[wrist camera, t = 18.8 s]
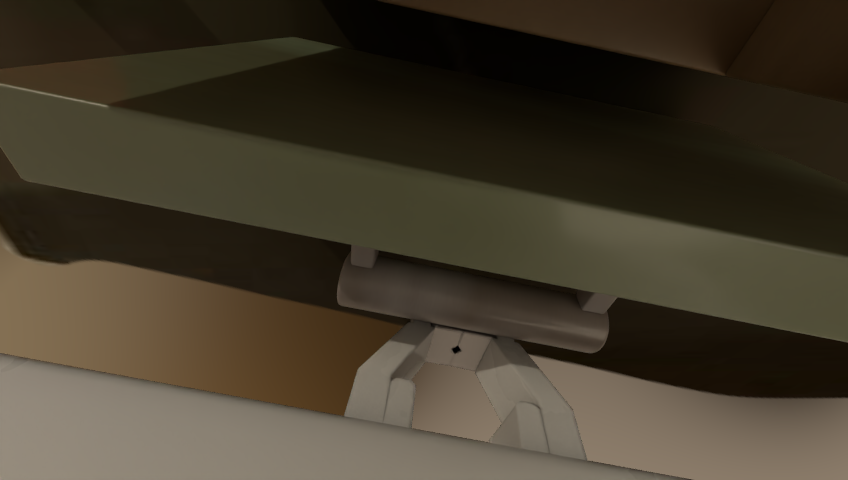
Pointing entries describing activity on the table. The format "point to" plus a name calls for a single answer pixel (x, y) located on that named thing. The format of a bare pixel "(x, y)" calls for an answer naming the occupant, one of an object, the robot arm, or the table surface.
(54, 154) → the drawer
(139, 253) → the table surface
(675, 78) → the table surface
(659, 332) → the table surface
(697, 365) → the table surface
